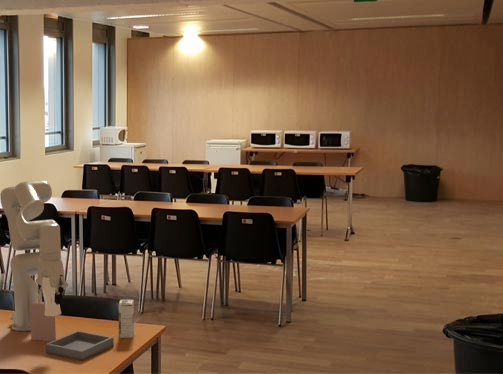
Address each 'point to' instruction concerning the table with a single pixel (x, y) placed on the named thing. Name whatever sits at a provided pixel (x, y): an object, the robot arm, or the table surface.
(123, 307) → the syrup box
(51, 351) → the tray
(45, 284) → the beer glass
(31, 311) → the greeting card
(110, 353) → the table surface
